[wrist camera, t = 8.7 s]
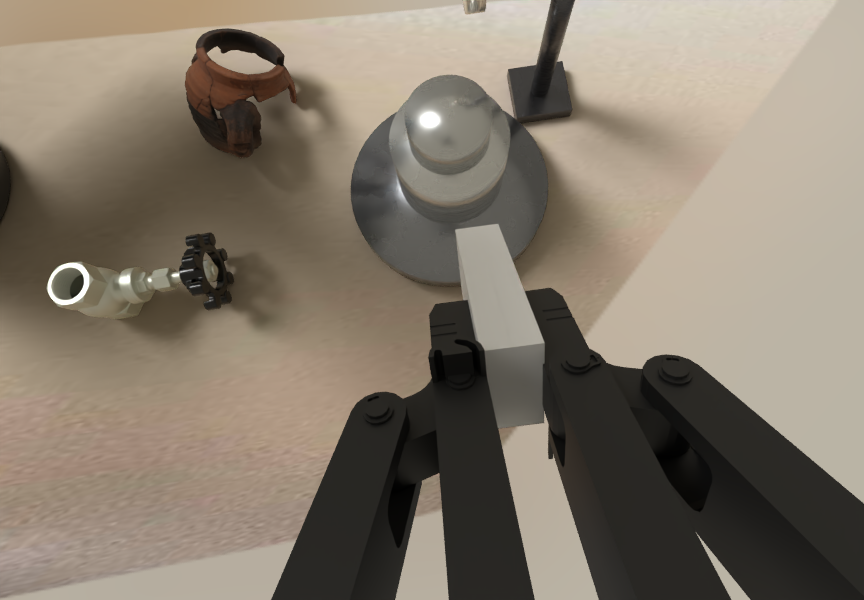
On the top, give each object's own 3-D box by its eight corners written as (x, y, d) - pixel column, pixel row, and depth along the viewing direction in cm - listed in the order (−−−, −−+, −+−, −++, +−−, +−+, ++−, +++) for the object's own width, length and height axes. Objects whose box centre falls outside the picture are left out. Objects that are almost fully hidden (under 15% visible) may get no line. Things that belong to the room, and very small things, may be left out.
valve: (106, 340, 42) (237, 314, 42) (42, 330, 36) (197, 300, 35) (103, 269, 44) (230, 244, 43) (41, 248, 37) (190, 218, 37)
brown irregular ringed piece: (186, 99, 47) (175, 15, 40) (284, 104, 51) (289, 28, 44) (198, 187, 42) (188, 107, 35) (307, 185, 46) (316, 113, 39)
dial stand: (466, 131, 44) (469, -15, 28) (458, 83, 45) (457, -83, 29) (569, 115, 44) (630, -40, 28) (560, 68, 45) (614, -108, 29)
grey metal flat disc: (364, 298, 41) (360, 293, 39) (347, 123, 45) (342, 111, 43) (559, 272, 41) (564, 266, 39) (527, 97, 44) (530, 83, 42)
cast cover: (401, 227, 40) (385, 181, 32) (396, 131, 42) (379, 62, 33) (507, 219, 40) (521, 169, 31) (498, 122, 42) (508, 49, 33)
